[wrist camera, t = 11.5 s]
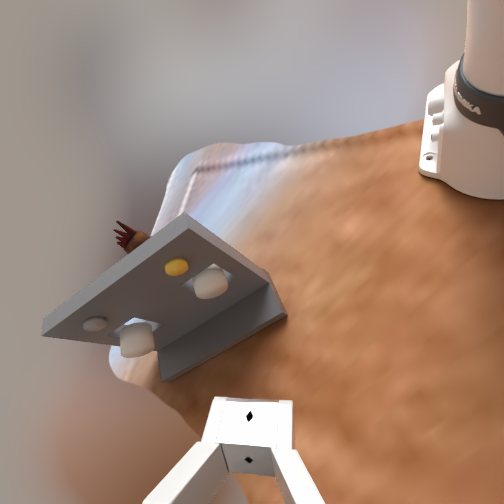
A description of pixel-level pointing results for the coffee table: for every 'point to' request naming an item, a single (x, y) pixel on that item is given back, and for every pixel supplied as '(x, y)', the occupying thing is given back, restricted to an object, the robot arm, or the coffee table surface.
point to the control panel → (172, 299)
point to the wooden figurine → (130, 238)
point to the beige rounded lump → (210, 282)
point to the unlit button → (136, 340)
